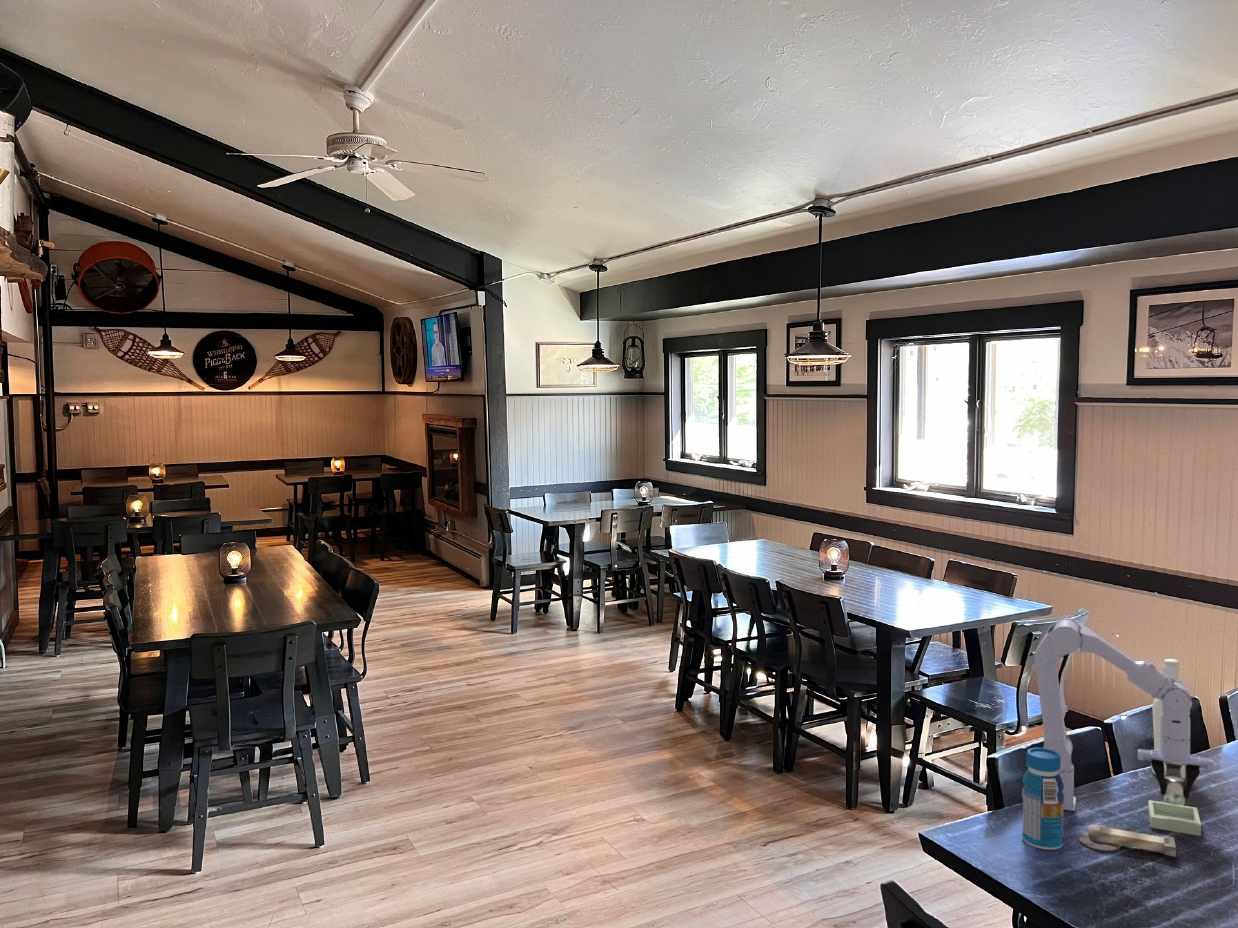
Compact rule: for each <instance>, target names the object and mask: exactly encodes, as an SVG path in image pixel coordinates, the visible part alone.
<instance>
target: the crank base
mask: <svg viewBox="0 0 1238 928" xmlns="http://www.w3.org/2000/svg"><path fill="white" fill-rule="evenodd" d="M1078 841H1079V842H1080V843H1081V844H1082V845H1084V846H1085V847H1086V848H1089V849H1092V850H1094V851H1095V850H1096V851H1101V852H1115V851H1118V850H1120V849H1121V845H1119V844H1113V843H1100V842H1096V841H1093V840H1091V839H1090V838H1089V837H1088V830H1087V831H1083V832H1080V833H1079V835H1078Z"/></svg>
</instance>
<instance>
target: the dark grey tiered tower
mask: <svg viewBox="0 0 1238 928" xmlns="http://www.w3.org/2000/svg"><path fill="white" fill-rule="evenodd" d="M1165 765H1166V774H1165V775H1164V778H1165V777H1169V776H1171V777H1178V778H1181V779H1183V778H1182V777H1181V767H1182V765H1177V764H1171V763H1165ZM1183 780H1184V781H1185V779H1183Z"/></svg>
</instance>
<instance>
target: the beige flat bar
mask: <svg viewBox="0 0 1238 928" xmlns="http://www.w3.org/2000/svg"><path fill="white" fill-rule="evenodd" d="M1087 829H1088V830H1087V831H1088V837H1089V838H1090V839H1091V840H1093V841H1096V842H1100V843H1113V844H1119V845H1120V846H1126V847H1130V848H1136V849H1143V850H1146V851H1147V850H1148V851H1153V852H1159V853H1163V854H1164V856H1170V857H1177V855H1176V852H1177V850H1176V849H1177V848H1176V842H1175V837H1174V836H1170V835H1162V836H1158V835H1152V834H1147V833H1140V832H1135V831H1129V830H1123V829H1117V828H1113V827H1112V828H1111V827H1107V826H1105V825H1102V824H1089V825H1088V827H1087Z"/></svg>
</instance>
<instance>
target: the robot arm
mask: <svg viewBox="0 0 1238 928" xmlns="http://www.w3.org/2000/svg"><path fill="white" fill-rule="evenodd" d="M1078 649H1079V653H1082V654H1083V653H1084V654H1085V653H1086V654H1087V653H1089V654H1090V653H1092V654H1093V653H1094V654H1096V656H1098V657H1100V658H1102V659H1104V660H1105V661H1107V662H1108V663H1110V664H1111V665H1113V666H1115V667H1116V668H1117V669H1120V670H1121V671H1123V672H1124V673H1126V676H1127V679H1128V681H1129V682H1130V683H1131V684H1133V685H1135V686H1136V687H1138V688H1139V689H1140V690H1142V691H1143V692H1145V693H1147V694H1148V695H1149V696H1151V697H1152V698H1154V699H1155V698H1156V699H1160V700H1161V703H1162V714H1161V740H1160V750H1154V749H1141V748H1138V749H1137V760H1138V761H1142V762H1144V761H1149V762H1150V763H1151V764H1152V768H1153V770H1154V772H1155V774H1156V775H1155V774H1154V775H1155V777H1156V779H1157V782H1158V784H1159V788H1160V789H1159V791H1160V795H1162V796H1164V795H1165V788H1164V763H1171V764H1177V765H1185V800H1187V799H1189V798H1190V794H1191V791H1192V788H1193V785H1194V783H1195V782H1196V780H1197V778H1198V777H1199V776H1200V774H1201V770H1200V768H1201V769H1207V770H1208V771H1214V765H1215V764H1214V760H1213V758H1207V757H1203V756H1198V755H1193V754H1191V718H1190V716H1191V708H1192V706H1193V702H1192V697H1191V693H1190V689H1188V687H1187V686H1186V685H1185V684H1184V683H1183V682H1182V681H1180V680H1179V681H1177V680H1176V679H1175V678H1173V677H1171V678H1169V677H1168V676H1166V675H1165V674H1163V671H1160V670H1158V669H1157V668H1156V666H1157V665H1156V664H1155V663H1153V662H1151V661H1149V662H1147V661H1145V660H1134V659H1132V658H1131V657H1129V656H1128V655H1127V654H1125V653H1124V652H1122V651H1121V650H1120V649H1118V648H1117V647H1115V645H1112V644H1111V643H1110V642H1108V641H1107V640H1106V639H1104V638H1103V637H1101V635H1099V634H1098V633H1096V632H1094V631H1092V630H1091V629H1089V628H1088V627H1087V626H1084V625H1082V624H1081V625H1080V624H1079V622H1077V621H1076V620H1075V619H1073V618H1072V619H1071V618H1061V619H1059V620H1057V621H1056V622H1055V623H1054V624H1052V625H1051V626H1049V627H1048V629H1047V631H1046V633H1045V634H1044V636H1043V638H1042V639H1041V641H1040V643H1039V644H1038V645H1037V648H1036V649H1035V652H1034V655H1033V656H1034V657H1033V659H1034V665H1035V674H1036V681H1037V688H1038V694H1039V695H1038V696H1039V704H1040V711H1041V717H1042V725H1043V726H1042V727H1043V748H1046V749H1050V750H1053V751H1056V752H1057V753H1059V754H1060V758H1061V765H1060V770H1059V771H1058V773H1059V775H1060V776H1061V778H1062V780H1063V783H1064V789H1063V791H1062V792H1063V794H1064V797H1065V802H1064V804H1063V811H1064V810H1065V811H1070V812H1076V803H1077V802H1076V800H1077V798H1076V796H1074V795H1075V793H1074V792H1075V785H1074V784H1075V781H1074V779H1075V766H1074V764H1073V763H1072V753H1073V749H1074V746H1073V743H1072V740H1071V739H1070V737H1069V735H1068V733H1067V728H1066V724H1065V719H1064V712H1063V711H1064V710H1063V704H1062V695H1061V690H1060V689H1061V687H1060V681H1059V674H1058V673H1059V671H1058V666H1057V663H1058V661H1060V660H1061V658H1063V657H1064V656H1067V655H1069V654H1072V653H1074V652H1076V651H1077V650H1078ZM1151 764H1150V765H1151ZM1152 768H1151V769H1152Z"/></svg>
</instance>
